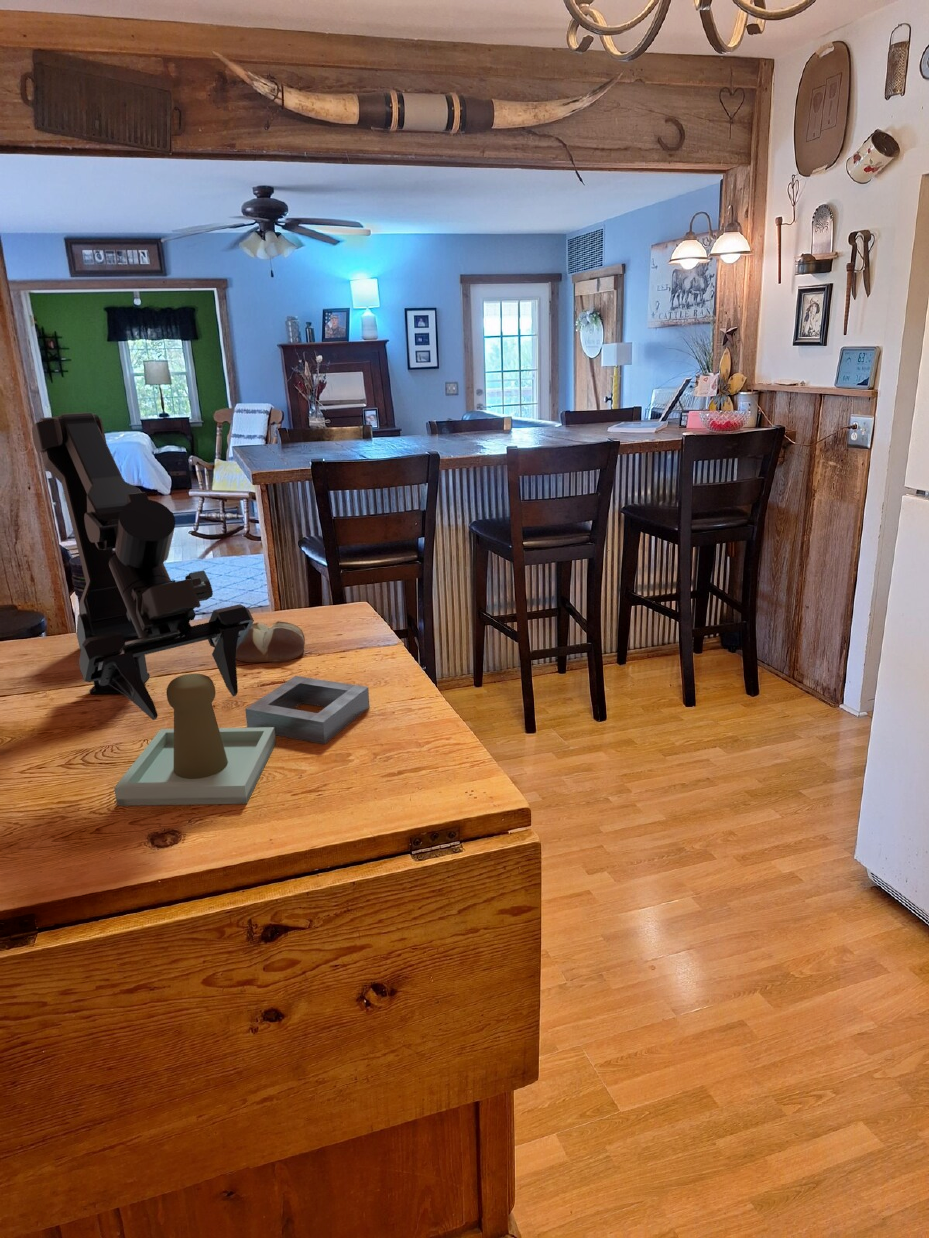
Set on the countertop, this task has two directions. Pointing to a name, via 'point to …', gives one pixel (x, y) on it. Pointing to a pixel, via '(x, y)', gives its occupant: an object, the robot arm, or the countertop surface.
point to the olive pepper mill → (195, 727)
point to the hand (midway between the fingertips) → (196, 705)
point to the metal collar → (308, 726)
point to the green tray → (232, 785)
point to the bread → (271, 643)
